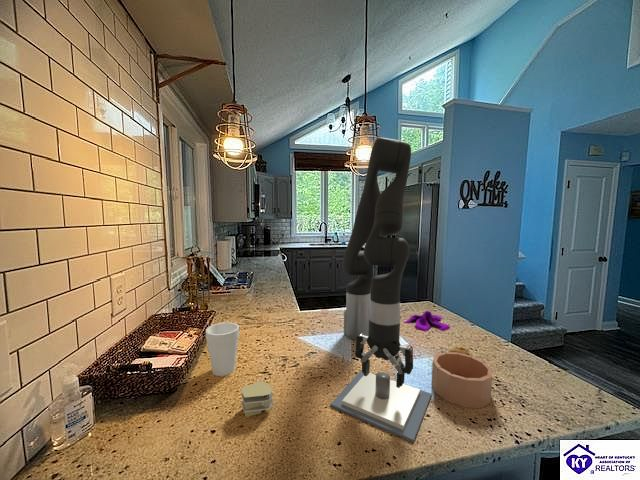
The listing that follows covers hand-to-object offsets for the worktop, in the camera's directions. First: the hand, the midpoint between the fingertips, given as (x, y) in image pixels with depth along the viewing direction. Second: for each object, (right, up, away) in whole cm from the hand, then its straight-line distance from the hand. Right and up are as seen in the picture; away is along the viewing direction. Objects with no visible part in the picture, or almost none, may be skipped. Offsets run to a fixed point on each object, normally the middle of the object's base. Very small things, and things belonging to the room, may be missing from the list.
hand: (382, 380), depth 70 cm
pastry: (+29, -4, +20) cm, 36 cm away
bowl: (+22, -5, +5) cm, 23 cm away
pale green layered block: (-31, -6, -3) cm, 31 cm away
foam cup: (-45, -4, +14) cm, 47 cm away
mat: (0, -5, 0) cm, 5 cm away
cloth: (+30, -2, +52) cm, 60 cm away
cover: (0, -5, 0) cm, 5 cm away
